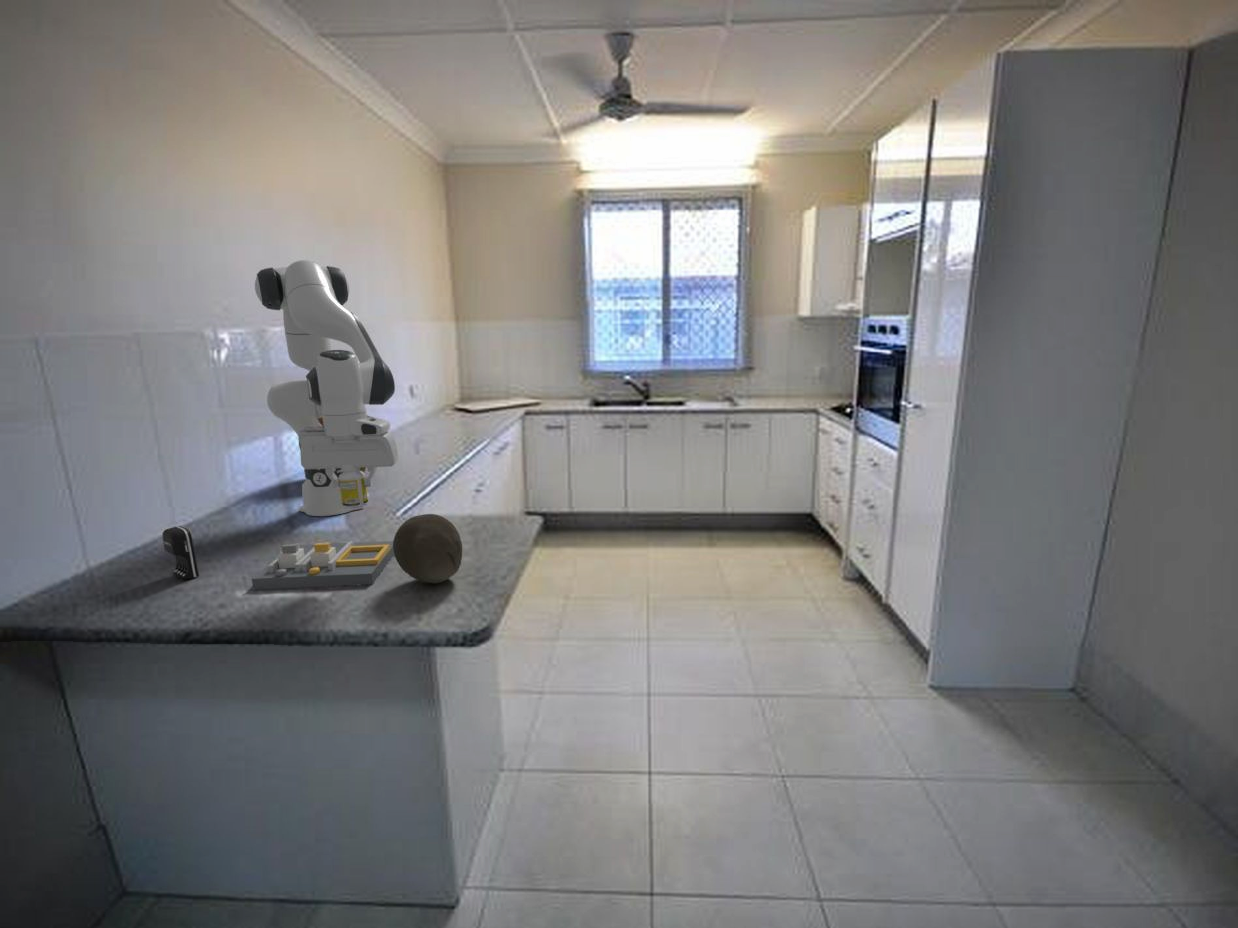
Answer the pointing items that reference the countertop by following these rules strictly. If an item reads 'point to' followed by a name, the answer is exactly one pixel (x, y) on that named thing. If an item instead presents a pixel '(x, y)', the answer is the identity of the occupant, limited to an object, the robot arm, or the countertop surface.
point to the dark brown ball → (428, 548)
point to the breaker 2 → (322, 554)
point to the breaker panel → (330, 567)
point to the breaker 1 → (290, 555)
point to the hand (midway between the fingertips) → (353, 486)
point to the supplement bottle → (352, 487)
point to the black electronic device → (181, 551)
